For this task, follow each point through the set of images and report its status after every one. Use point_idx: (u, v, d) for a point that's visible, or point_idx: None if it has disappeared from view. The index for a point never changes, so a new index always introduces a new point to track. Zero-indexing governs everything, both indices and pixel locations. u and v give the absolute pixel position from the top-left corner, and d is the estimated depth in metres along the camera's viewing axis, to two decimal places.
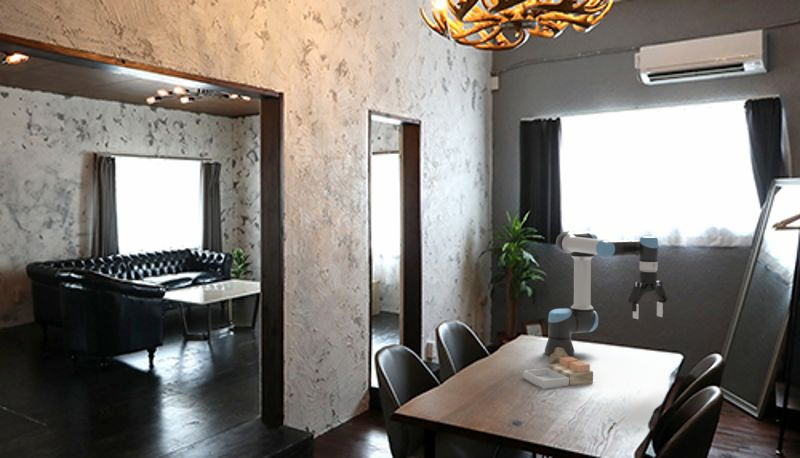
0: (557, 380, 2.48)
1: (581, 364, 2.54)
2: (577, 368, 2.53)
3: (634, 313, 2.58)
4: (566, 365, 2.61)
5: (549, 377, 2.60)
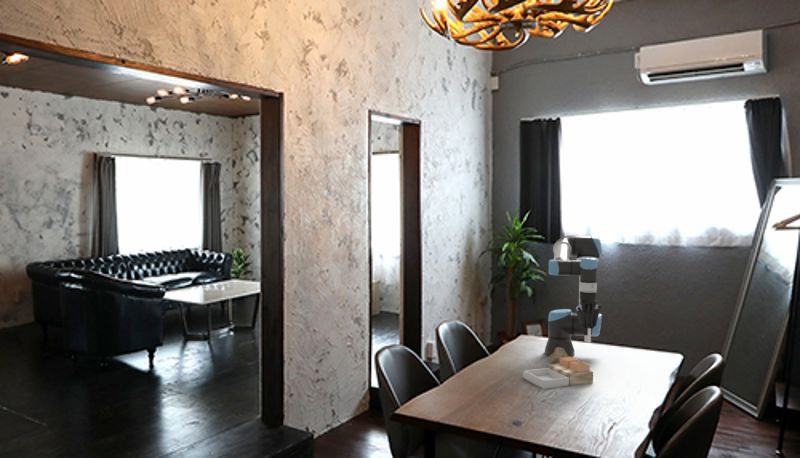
0: (557, 380, 2.48)
1: (581, 364, 2.54)
2: (577, 368, 2.53)
3: (585, 337, 2.66)
4: (566, 365, 2.61)
5: (549, 377, 2.60)
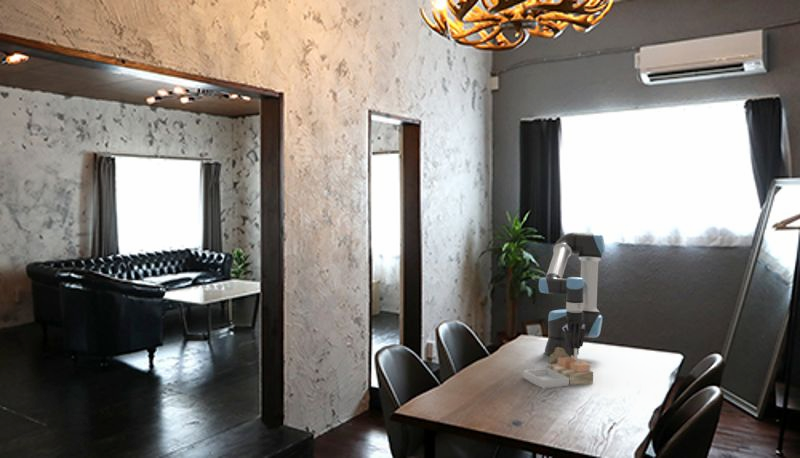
0: (557, 380, 2.48)
1: (581, 364, 2.54)
2: (577, 368, 2.53)
3: (572, 357, 2.64)
4: (564, 365, 2.60)
5: (549, 377, 2.60)
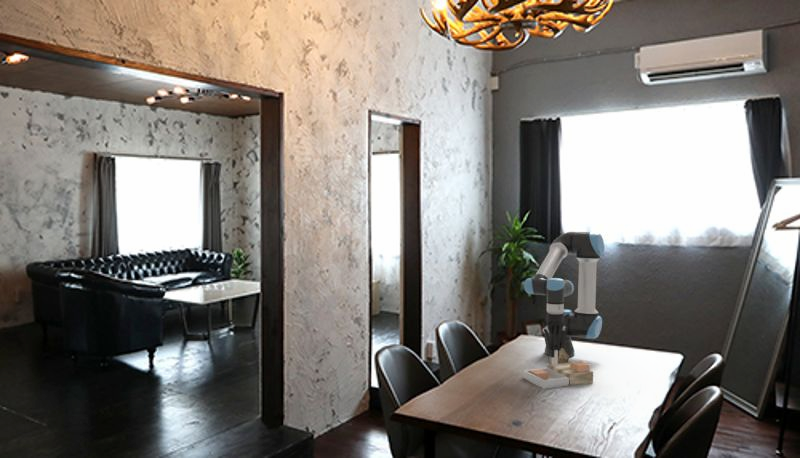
0: (557, 380, 2.48)
1: (581, 364, 2.54)
2: (577, 368, 2.53)
3: (552, 359, 2.61)
4: None
5: (549, 377, 2.60)
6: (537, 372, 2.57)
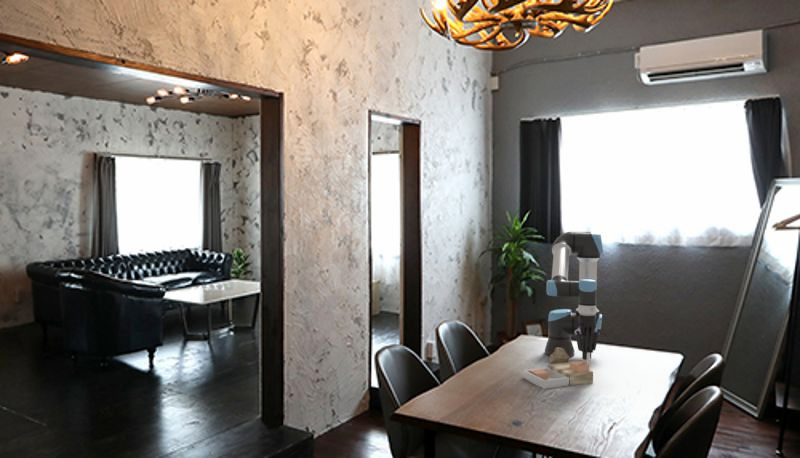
0: (557, 380, 2.48)
1: (581, 364, 2.54)
2: (576, 368, 2.53)
3: (584, 361, 2.57)
4: None
5: (549, 377, 2.60)
6: (537, 372, 2.57)
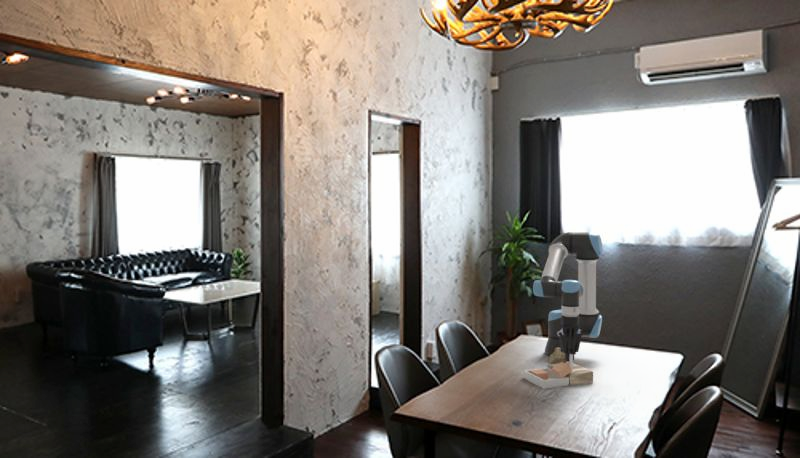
0: (557, 380, 2.48)
1: (562, 368, 2.51)
2: (559, 374, 2.50)
3: (567, 363, 2.54)
4: None
5: (549, 377, 2.60)
6: (537, 372, 2.57)
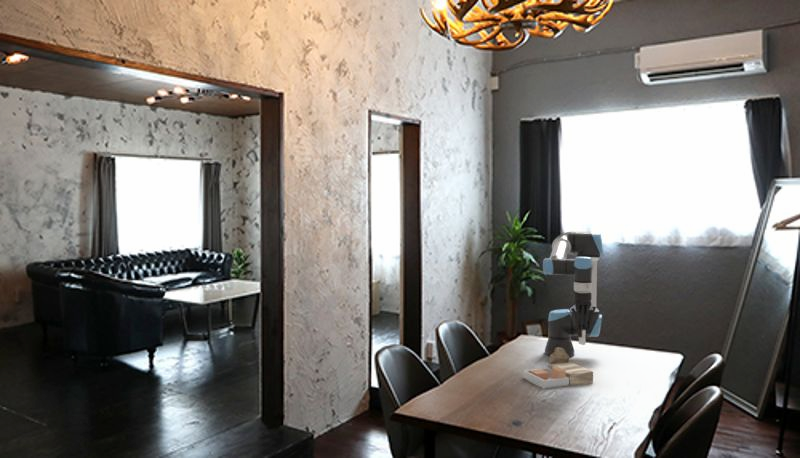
0: (557, 380, 2.48)
1: None
2: None
3: (580, 339, 2.57)
4: None
5: (549, 377, 2.60)
6: (537, 372, 2.57)
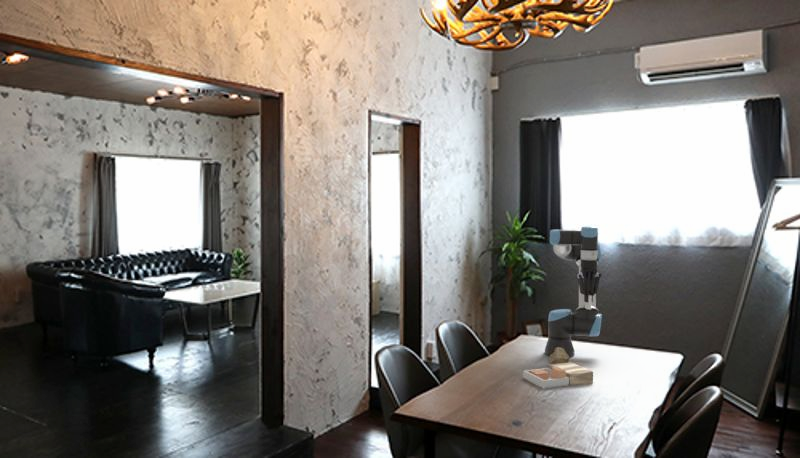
0: (557, 380, 2.48)
1: None
2: None
3: (586, 304, 2.72)
4: None
5: (549, 377, 2.60)
6: (537, 372, 2.57)
